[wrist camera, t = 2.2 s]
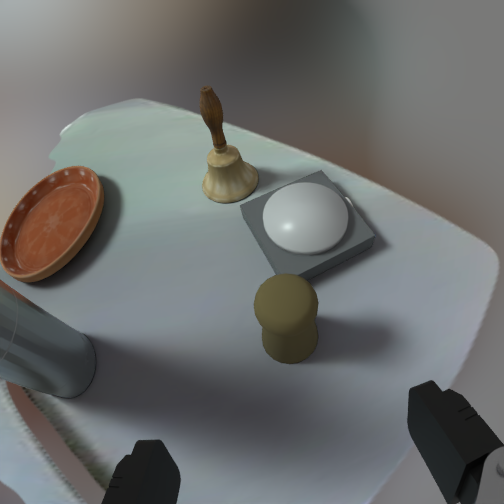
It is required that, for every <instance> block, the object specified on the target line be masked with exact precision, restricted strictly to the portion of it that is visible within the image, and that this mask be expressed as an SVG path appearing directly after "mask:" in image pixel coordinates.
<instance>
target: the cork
mask: <svg viewBox="0 0 504 504" xmlns="http://www.w3.org/2000/svg"><path fill="white" fill-rule="evenodd" d="M254 311H255V315H256V317H257V319H258V321H259V323H260V325H261V326H262V342H263V346H264V348H265V350H266V352H267V354H268V355H270V356H271V357H272V358H273V359H274V360H276V361H278V362H280V363H286V364H293V363H298V362H301V361H303V360H305V359H306V358H308V357H309V356H310V355H311V354H312V353H313V352H314V349H315V347H316V345H317V342H318V332H317V327H316V324H315V318H316V315H317V311H318V298H317V294H316V292H315V290H314V289H313V287H312V286H311V284H310V283H309V282H308V281H307V280H305V279H304V278H303V277H300V276H298V275H295V274H287V273H284V274H279V275H275V276H273V277H271V278H269V279H267V280H266V281H265V282H264V283H263V284H262V285H261V286H260V288H259V289H258V291H257V293H256V296H255V301H254Z"/></svg>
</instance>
